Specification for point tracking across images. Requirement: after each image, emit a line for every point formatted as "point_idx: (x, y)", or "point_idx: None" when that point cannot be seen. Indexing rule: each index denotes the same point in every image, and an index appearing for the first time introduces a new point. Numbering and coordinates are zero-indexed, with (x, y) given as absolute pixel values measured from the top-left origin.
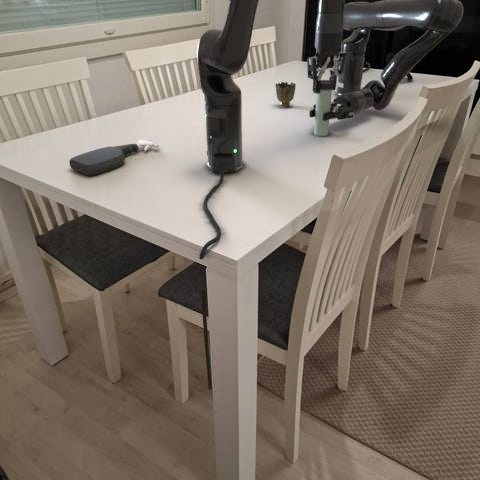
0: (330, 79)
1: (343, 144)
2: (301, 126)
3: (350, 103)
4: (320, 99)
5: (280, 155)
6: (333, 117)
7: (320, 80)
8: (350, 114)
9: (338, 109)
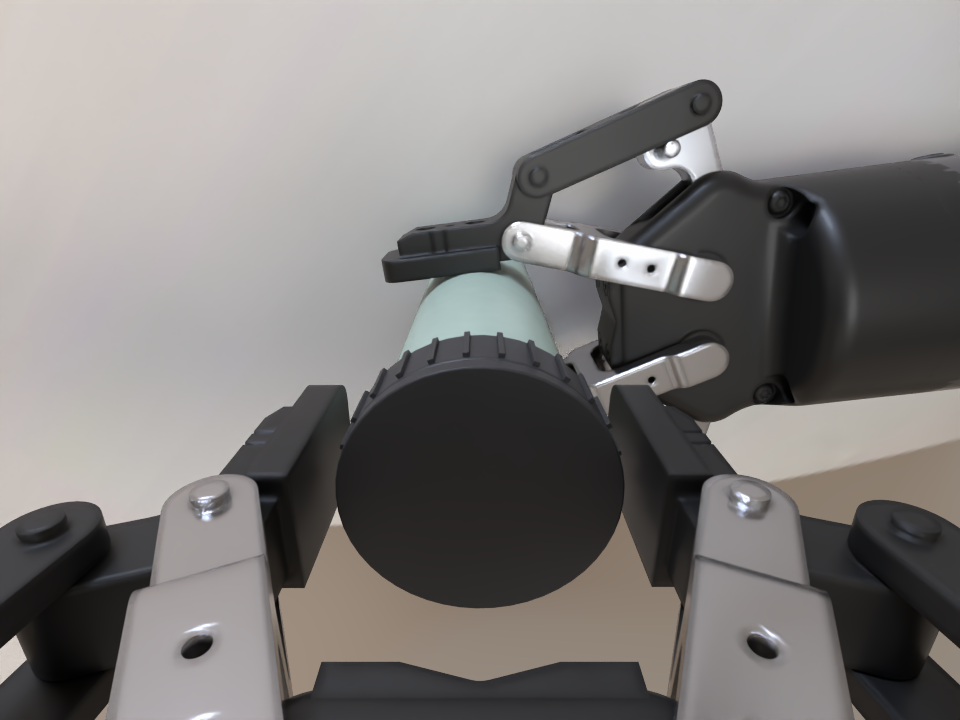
0: (651, 479)
1: None
2: (491, 51)
3: (792, 404)
4: None
5: (39, 401)
6: None
7: (497, 388)
8: None
9: None
